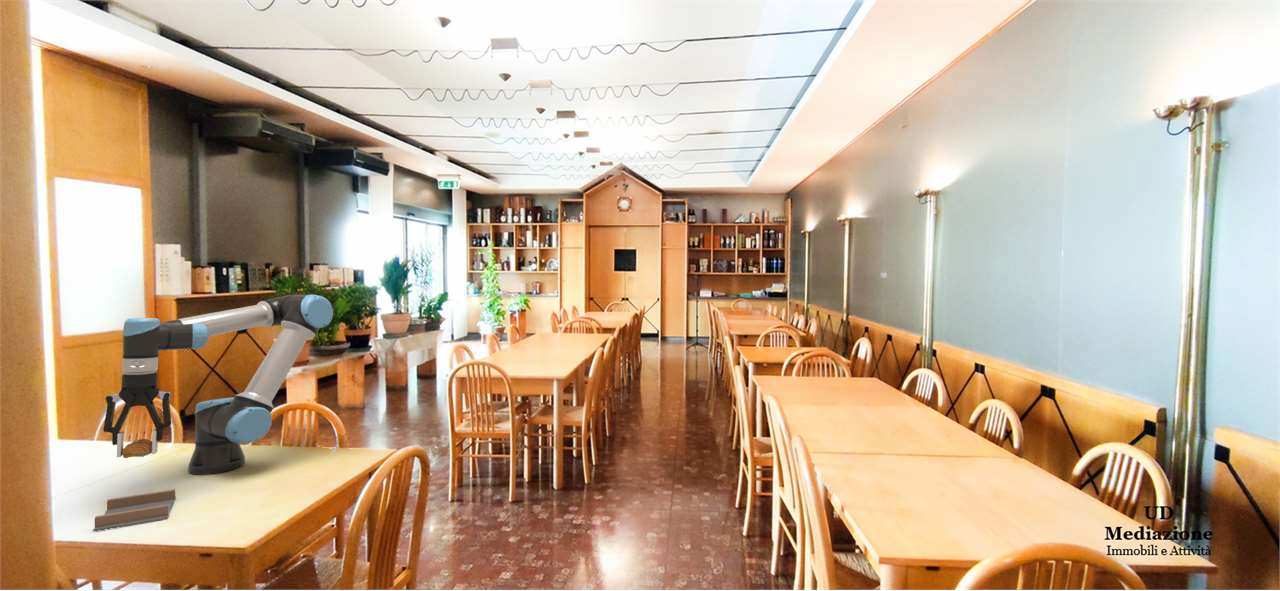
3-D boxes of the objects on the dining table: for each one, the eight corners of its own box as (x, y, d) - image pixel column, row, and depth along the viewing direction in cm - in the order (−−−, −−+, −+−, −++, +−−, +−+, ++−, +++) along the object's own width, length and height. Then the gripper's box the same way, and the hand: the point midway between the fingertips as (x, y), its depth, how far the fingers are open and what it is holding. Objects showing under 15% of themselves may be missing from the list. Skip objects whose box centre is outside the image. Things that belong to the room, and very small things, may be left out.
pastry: (148, 458, 152) (148, 444, 152) (115, 461, 149) (115, 447, 149) (156, 450, 160) (157, 436, 161) (125, 453, 157) (126, 439, 157)
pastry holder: (175, 498, 158) (175, 487, 158) (167, 519, 144) (167, 507, 144) (109, 509, 150) (109, 497, 150) (93, 532, 136) (93, 519, 136)
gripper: (88, 376, 147) (85, 462, 147) (182, 372, 157) (179, 453, 157) (96, 372, 153) (93, 455, 153) (186, 369, 164) (184, 447, 163)
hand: (137, 454), depth 155 cm, fingers closed on pastry, 7 cm apart
